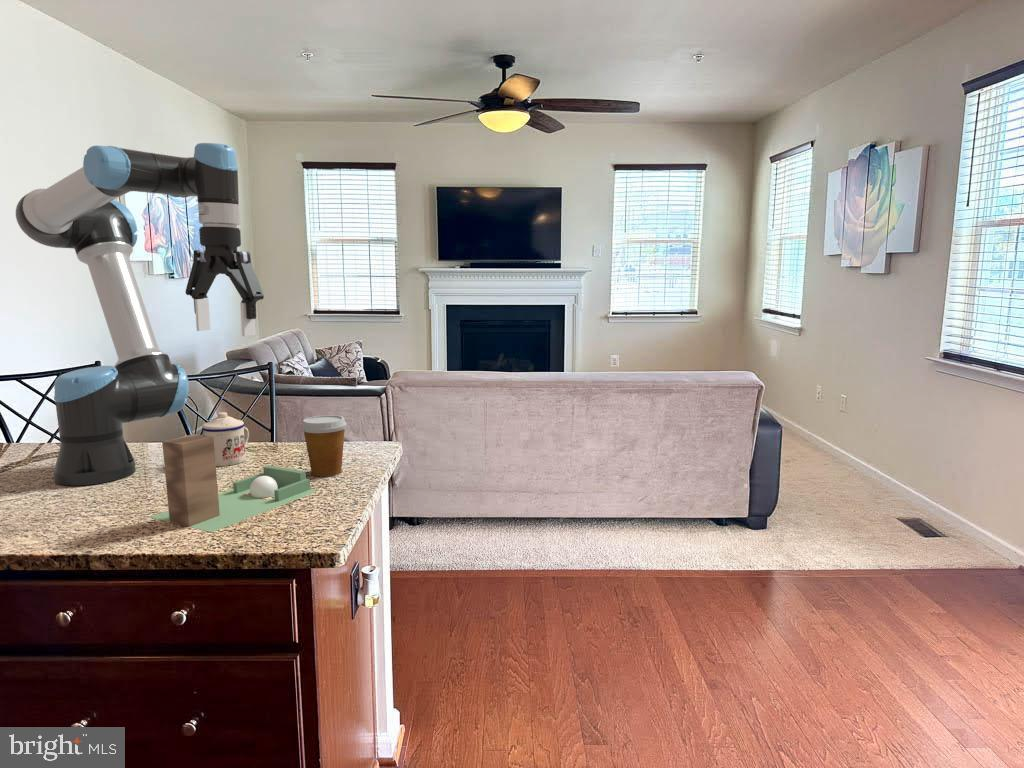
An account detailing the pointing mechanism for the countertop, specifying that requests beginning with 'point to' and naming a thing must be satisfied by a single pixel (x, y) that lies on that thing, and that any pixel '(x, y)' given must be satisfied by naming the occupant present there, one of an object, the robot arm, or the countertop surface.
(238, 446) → the teacup with lid
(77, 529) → the countertop surface
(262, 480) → the ball
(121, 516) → the countertop surface
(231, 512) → the pad
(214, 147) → the robot arm
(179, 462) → the walnut block
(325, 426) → the disposable coffee cup
